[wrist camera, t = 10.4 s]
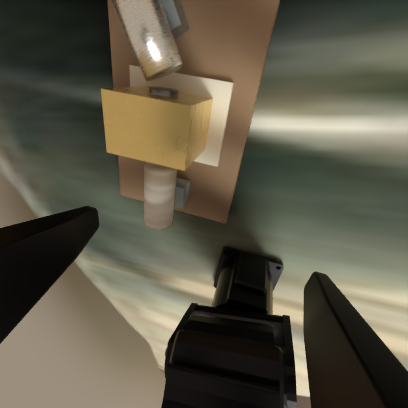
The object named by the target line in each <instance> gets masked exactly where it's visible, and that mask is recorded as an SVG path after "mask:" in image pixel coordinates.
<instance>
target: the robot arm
mask: <svg viewBox="0 0 408 408" xmlns="http://www.w3.org/2000/svg"><path fill="white" fill-rule="evenodd" d="M98 227H99V218H98V211H97V209H96V208H93V207H90V206H84V207H81V208H77V209H73V210H69V211H65V212H61V213H57V214H53V215H50V216H46V217H42V218H38V219H34V220H30V221H26V222H22V223H19V224H15V225H11V226H7V227H3V228H0V344H1V342H2V341H3V340H4V339H5V338H6V337H7V336H8V334H9V333H10V332H11V331H12V330H13V329H14V328H15V327H16V326H17V324H18V323H19V322H20V321H21V320H22V319H23V318H24V316H25V315H26V314H27V313H28V312H29V311H30V310H31V309H32V308H33V306H34V305H35V304H36V303H37V302H38V301H39V300H40V299H41V297H42V296H43V295H44V294H45V293H46V292H47V291H48V290H49V288H50V287H51V286H52V285H53V284H54V283H55V282H56V280H57V279H58V278H59V277H60V276H61V275H62V274H63V273H64V272H65V270H66V269H67V268H68V267H69V266H70V265H71V264H72V263H73V261H74V260H75V259H76V258H77V257H78V255H79V254H80V253H81V251H82V250H83V249H84V247H85V246H86V245H87V243H88V242H89V240H90V239H91V238H92V236H93V235H94V233H95V232H96V231H97V229H98ZM226 251H228V252H226ZM277 266H280V267H277ZM282 271H283V263H282V262H279V261H276V260H272V259H269V258H265V257H262V256H258V255H255V254H251V253H248V252H244V251H241V250H237V249H234V248H231V247H224V248H223V250H222V254H221V258H220V262H219V266H218V270H217V274H216V278H215V282H214V287H215V288H216V291H215V295H214V299H213V302H212V306H204V305H198V304H197V303H191V305H190V307H189V308H188V310H187V311H186V313H185V315H184V316H183V318H182V320H181V321H180V323H179V324H178V326H177V328H176V329H175V331H174V333H173V334H172V336H171V338H170V339H169V341H168V347H167V349H166V352H165V356H166V359H165V378H166V384H165V390H164V397H163V403H162V407H161V408H297V405H296V403H297V399H296V374H295V360H294V351H293V342H292V334H291V325H290V316H287V315H283V316H278V315H273V290H274V288H275V286H276V284H277V281H278V279H279V277H280V275H281V273H282ZM304 342H305V351H306V361H307V371H308V380H309V390H310V399H311V408H408V371H407V370H406V369H405V367H404V366H403V365H402V364H401V363H400V362H399V360H398V359H397V358H396V357H395V356H394V354H393V353H392V352H391V351H390V350H389V348H388V347H387V346H386V345H385V344H384V342H383V341H382V340H381V339H380V338H379V337H378V335H377V334H376V333H375V332H374V331H373V329H372V328H371V327H370V326H369V325H368V323H367V322H366V321H365V320H364V319H363V317H362V316H361V315H360V314H359V313H358V312H357V310H356V309H355V308H354V307H353V306H352V304H351V303H350V302H349V301H348V300H347V298H346V297H345V296H344V295H343V294H342V292H341V291H340V290H339V289H338V288H337V287H336V285H335V284H334V283H333V282H332V281H331V279H330V278H329V277H328V276H327V275H326V274H323V273H319V272H314V273H313V274H312V275H311V277H310V278H309V280H308V282H307V284H306V285H305V288H304Z"/></svg>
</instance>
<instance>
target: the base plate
mask: <svg viewBox="0 0 408 408" xmlns="http://www.w3.org/2000/svg"><path fill="white" fill-rule="evenodd" d="M181 3H182V6H183V9H184V12H185V15H186V18H187V21H188V24H189V27H190V30H188V31H187V32H185V33H183V34H182V35H180V36H178V37H177V38H175V39H174V41H175V44H176V46H177V49H178V52H179V55H180V58H181V60H182V63H183V66H182V67H181V68H180V69H178V70H177V71H175V72H173V73H171V74H169V75H167V76H165V77H163V78H160V79H157V80H153V81H146V80H145V77H144V75H143V73H142V70H141V68H140V66H139V63H138V61H137V59H136V56H135V54H134V52H133V49H132V47H131V45H130V42H129V40H128V38H127V35H126V33H125V31H124V28H123V26H122V24H121V21H120V19H119V17H118V14H117V12H116V10H115V7H114V5H113V3H112V0H108V14H109V29H110V44H111V59H112V74H113V88H122V87H139V86H147V87H150V86H155V87H164V88H170V89H175V90H178V91H179V92H180V93H185V94H191V95H196V96H202V97H207V98H213V102H212V109H211V116H210V123H209V130H208V136H207V143H206V149H205V150H204V151H203V152H202V153H201V154H200V155H199V156H198V157H197V158H196V159H195V161H194V162H193V163H192V164H191V165H190V166H189V167H188V168H187V169H186V170H185V171H183V170H179V169H174V168H170V167H166V166H162V165H158V164H154V163H149V162H145V161H141V160H137V159H133V158H129V157H124V156H120V155H118V163H119V178H120V193H121V195H122V196H125V197H129V198H133V199H136V200H140V201H144V223H145V225H146V226H147V227H149V228H151V229H155V230H163V229H166V228H168V227H170V226H171V225H172V223H173V212H174V210H177V211H180V212H184V213H188V214H192V215H195V216H199V217H203V218H206V219H210V220H214V221H217V222H221V223H225V224H226V222H227V219H228V215H229V211H230V207H231V203H232V199H233V195H234V191H235V186H236V182H237V178H238V174H239V170H240V166H241V161H242V157H243V153H244V149H245V145H246V141H247V137H248V132H249V128H250V124H251V120H252V116H253V112H254V107H255V103H256V99H257V95H258V91H259V87H260V83H261V78H262V74H263V70H264V66H265V62H266V58H267V53H268V49H269V45H270V41H271V37H272V33H273V29H274V24H275V20H276V16H277V12H278V8H279V4H280V0H181Z"/></svg>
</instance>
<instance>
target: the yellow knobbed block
mask: <svg viewBox="0 0 408 408" xmlns="http://www.w3.org/2000/svg"><path fill="white" fill-rule="evenodd" d="M101 96H102V106H103V117H104V127H105V137H106V148H107V152H108V153H112V154H116V155H120V156H124V157H129V158H133V159H137V160H141V161H145V162H149V163H154V164H158V165H162V166H166V167H170V168H174V169H179V170H183V171H185V170H186V169H187V168H188V167H189V166H190V165H191V164H192V163H193V162H194V161H195V159H196V158H197V157H198V156H199V155H200V154H201V153H202V152H203V151H204V150H205V149H206V143H207V136H208V130H209V123H210V116H211V109H212V102H213V98H207V97H202V96H196V95H191V94H185V93H180V92H179V91H178V90H175V89H170V88H164V87H155V86H150V87H147V86H139V87H122V88H105V89H101Z"/></svg>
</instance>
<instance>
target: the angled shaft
mask: <svg viewBox="0 0 408 408" xmlns="http://www.w3.org/2000/svg"><path fill="white" fill-rule="evenodd" d="M112 3H113V5H114V7H115V10H116V12H117V14H118V17H119V19H120V21H121V24H122V26H123V28H124V31H125V33H126V35H127V38H128V40H129V42H130V45H131V47H132V49H133V52H134V54H135V56H136V59H137V61H138V63H139V66H140V68H141V70H142V73H143V75H144V77H145V80H146V81H153V80H157V79H160V78H163V77H165V76H167V75H169V74H171V73H173V72H175V71H177V70H178V69H180V68H181V67H182V66H183V63H182V60H181V58H180V55H179V52H178V49H177V46H176V44H175V41H174V39H175V38H177V37H178V36H180V35H182V34H183V33H185V32H187V31H188V30H190V27H189V24H188V21H187V18H186V15H185V12H184V9H183V6H182V3H181V0H112Z"/></svg>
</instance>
